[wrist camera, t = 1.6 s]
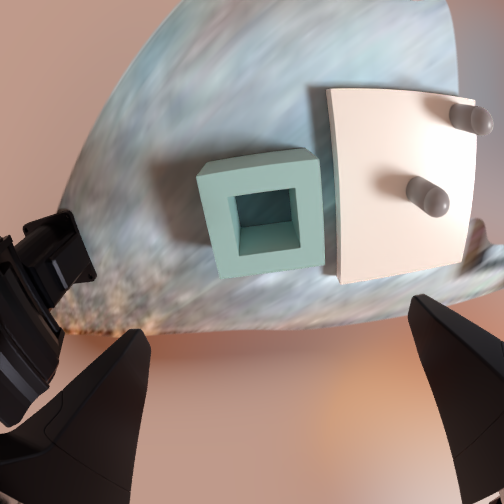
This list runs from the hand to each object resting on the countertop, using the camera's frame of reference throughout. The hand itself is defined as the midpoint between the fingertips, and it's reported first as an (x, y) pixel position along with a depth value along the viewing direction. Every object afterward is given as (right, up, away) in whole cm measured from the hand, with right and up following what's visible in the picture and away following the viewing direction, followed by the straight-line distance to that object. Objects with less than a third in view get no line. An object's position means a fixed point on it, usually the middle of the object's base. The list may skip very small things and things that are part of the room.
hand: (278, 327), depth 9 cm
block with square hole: (0, +6, +11) cm, 12 cm away
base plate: (+11, +7, +10) cm, 16 cm away
